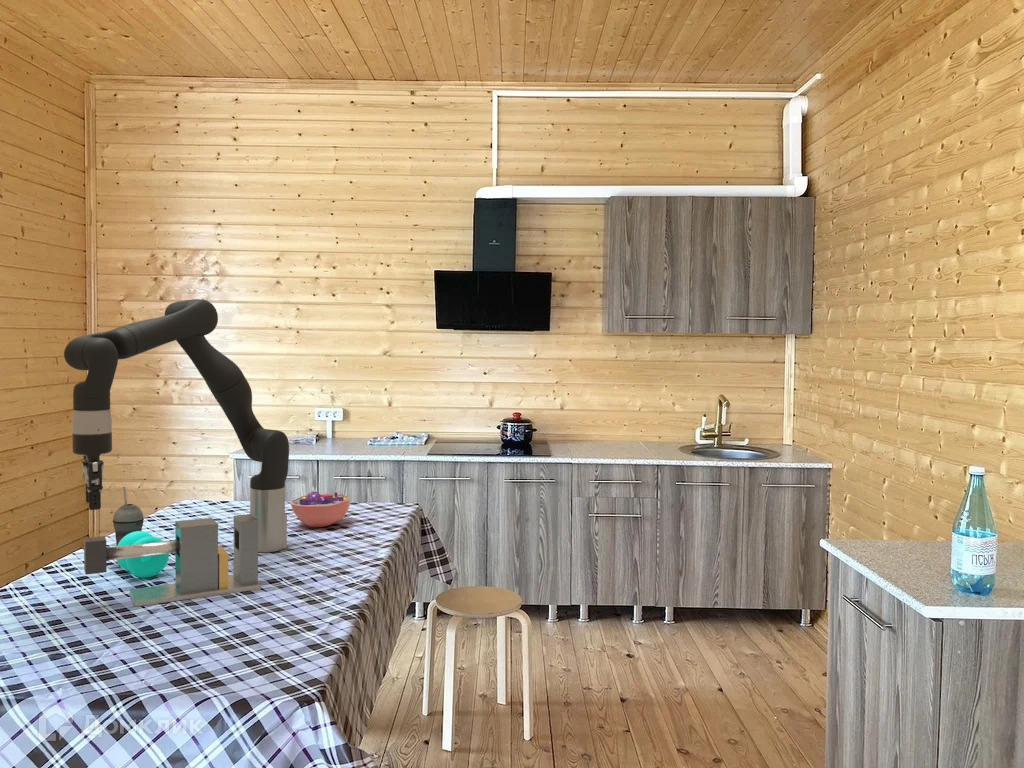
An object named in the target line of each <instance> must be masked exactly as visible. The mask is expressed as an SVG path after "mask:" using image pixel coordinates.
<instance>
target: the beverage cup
mask: <svg viewBox="0 0 1024 768" xmlns="http://www.w3.org/2000/svg"><path fill="white" fill-rule="evenodd" d="M126 489H127V488H126V486H123V487H122V490H123V499H124V504H122V505H121V506H119V507H118V508H117V509H116V510H115V512H114V514H113V516H112V523H113V530H114V534H115V543H116V546H117V545H118V543H119V542H120V540H121V539H122V538H123V537H124V536H126V535H127V534H129V533H132V532H135V531H143V525H144V521H145V518H144V514H143V511H142V510H141V508H140V507H139V506H137V505H136V504H133V503H128V499H127V491H126ZM118 566H119V567H120V568H122V567H121V566H120V565H119V564H118Z"/></svg>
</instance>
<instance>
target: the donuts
mask: <svg viewBox="0 0 1024 768" xmlns="http://www.w3.org/2000/svg"><path fill="white" fill-rule="evenodd" d="M162 541H164V540H163V539H162V538H159V537H157V536H153V534H152V533H149V532H148V531H144V530H142V531H135V532H132V533H129V534H127V535H126V536H124V537H123V538H122V539H121V540H120V542H119V543H118V545H116V546H124V545H134V544H143V543H153V542H162ZM169 557H170V553H168V554H159V555H150V556H142V557H133V558H124V559H115V560H116V563H117V564H118V566H119V565H120V566H121V567H120V566H119V567H120V568H122V569H124V570H125V571H128V572H129V573H130V574H131V575H133V576H135V577H137V578H141V579H143V578H144V579H146V578H147V579H149V578H152V577H155V576H156V575H158V574H159V573H161V572H162V571H163V570H164V569H165V568H166V566H167V564H168V561H169V559H170V558H169Z"/></svg>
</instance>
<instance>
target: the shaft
mask: <svg viewBox="0 0 1024 768" xmlns="http://www.w3.org/2000/svg"><path fill="white" fill-rule="evenodd" d="M177 552H180V540H175V539H172V540H163V541H162V542H153V543H143V544H134V545H124V546H117V545H116V546H115V545H114V546H107V538H106V536H105V535H100V536H92V537H84V538H83V562H84V563H83V569H84V570H83V571H84V574H85V576H86V575H87V576H88V575H93V574H94V575H95V574H101V573H107V562H108V561H113V560H116V559H124V558H133V557H142V556H150V555H159V554H168V553H169V554H175V553H177Z"/></svg>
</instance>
